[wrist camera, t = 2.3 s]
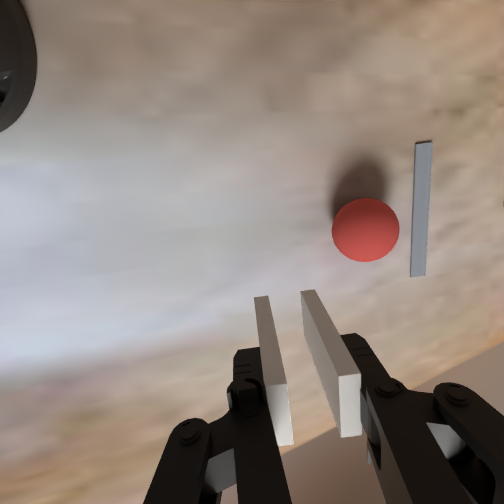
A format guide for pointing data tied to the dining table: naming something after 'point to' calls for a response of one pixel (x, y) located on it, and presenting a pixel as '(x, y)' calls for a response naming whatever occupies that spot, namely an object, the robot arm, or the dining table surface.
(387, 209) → the ball
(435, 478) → the robot arm
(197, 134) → the dining table surface
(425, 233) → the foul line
